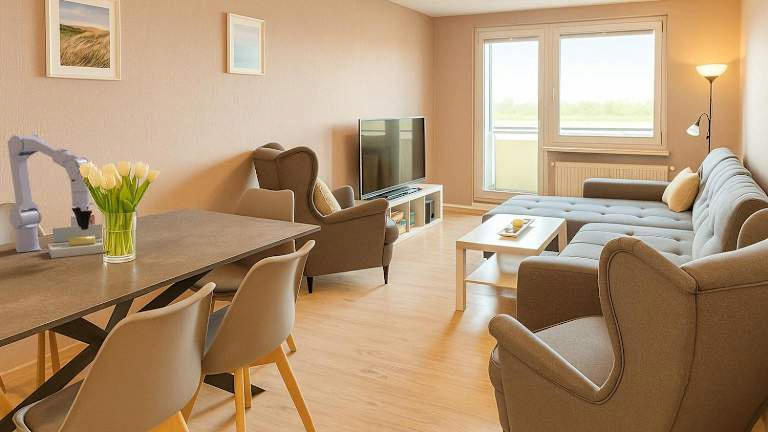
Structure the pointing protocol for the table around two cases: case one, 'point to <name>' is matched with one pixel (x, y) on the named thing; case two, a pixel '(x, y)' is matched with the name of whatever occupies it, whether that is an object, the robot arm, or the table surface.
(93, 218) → the small box
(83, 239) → the yellow rounded bar
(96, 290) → the table surface
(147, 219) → the table surface
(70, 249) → the white sliding drawer case
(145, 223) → the table surface
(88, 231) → the cover
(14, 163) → the robot arm
